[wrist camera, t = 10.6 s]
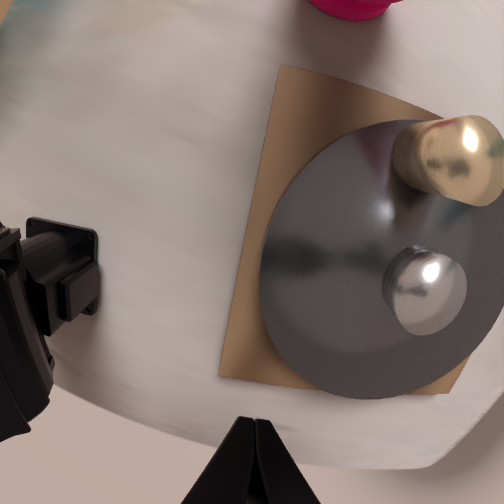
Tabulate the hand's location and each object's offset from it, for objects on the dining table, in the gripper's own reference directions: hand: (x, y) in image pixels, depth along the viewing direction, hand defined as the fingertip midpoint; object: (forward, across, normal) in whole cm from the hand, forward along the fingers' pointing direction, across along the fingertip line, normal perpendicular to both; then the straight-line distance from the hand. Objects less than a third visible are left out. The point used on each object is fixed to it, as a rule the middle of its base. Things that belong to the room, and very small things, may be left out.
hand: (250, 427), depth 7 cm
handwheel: (+11, -9, -2) cm, 15 cm away
